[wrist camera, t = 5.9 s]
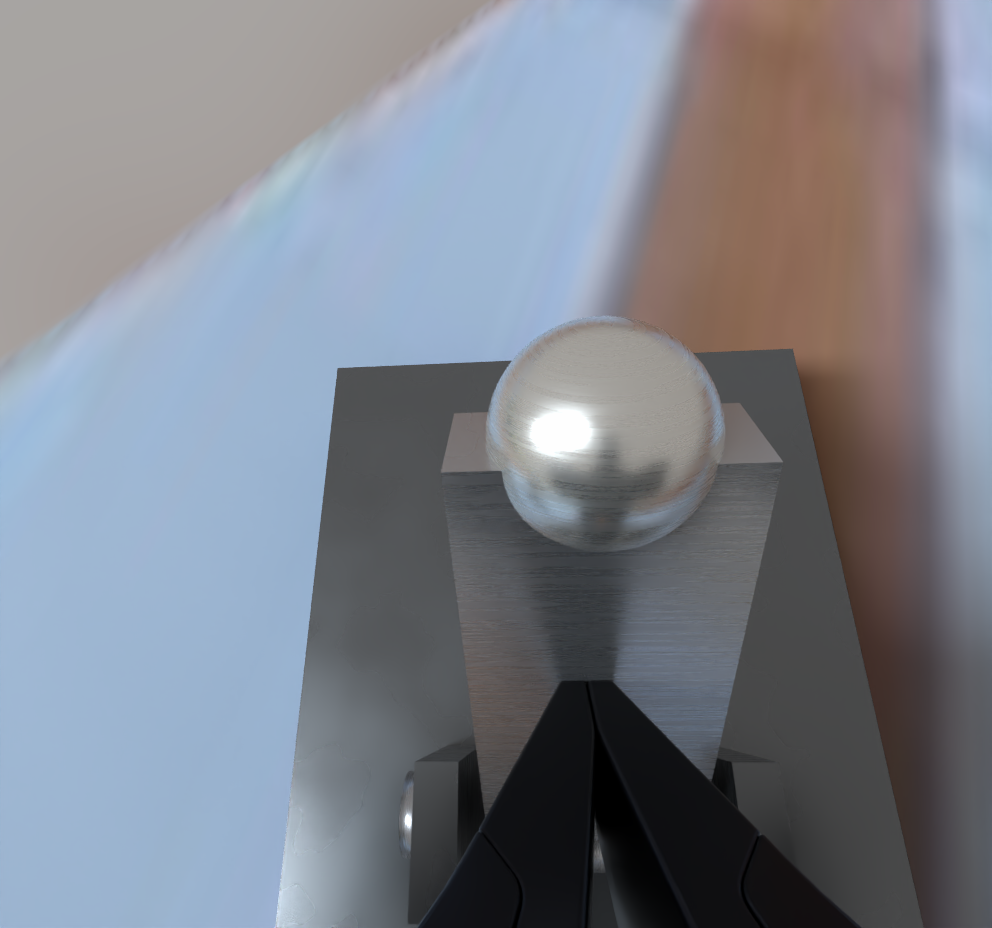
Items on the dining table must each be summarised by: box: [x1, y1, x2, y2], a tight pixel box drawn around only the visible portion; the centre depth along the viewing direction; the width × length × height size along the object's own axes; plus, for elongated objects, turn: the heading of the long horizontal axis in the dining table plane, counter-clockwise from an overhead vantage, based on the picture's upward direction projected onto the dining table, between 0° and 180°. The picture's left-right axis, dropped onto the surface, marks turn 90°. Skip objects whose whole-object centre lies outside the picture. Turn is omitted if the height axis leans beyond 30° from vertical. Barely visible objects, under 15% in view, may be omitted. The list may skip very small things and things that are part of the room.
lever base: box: [275, 349, 924, 928], centre depth 13 cm, size 24×14×7 cm, turn 0°
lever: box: [441, 316, 783, 873], centre depth 10 cm, size 3×4×12 cm
